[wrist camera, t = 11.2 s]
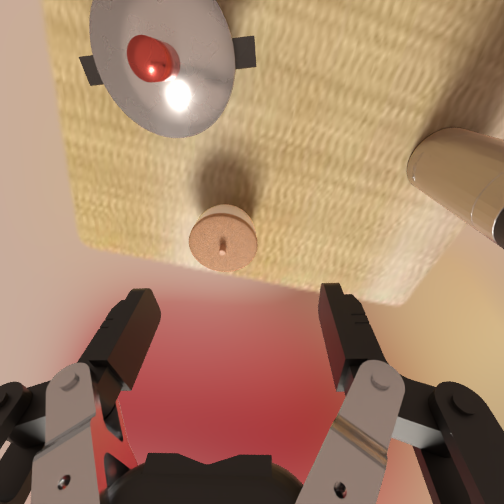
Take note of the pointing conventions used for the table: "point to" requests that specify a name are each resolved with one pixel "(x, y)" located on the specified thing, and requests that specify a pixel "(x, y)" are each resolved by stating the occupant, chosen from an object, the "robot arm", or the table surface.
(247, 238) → the lidded jar
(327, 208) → the table surface
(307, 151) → the table surface
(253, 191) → the table surface
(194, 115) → the lid
